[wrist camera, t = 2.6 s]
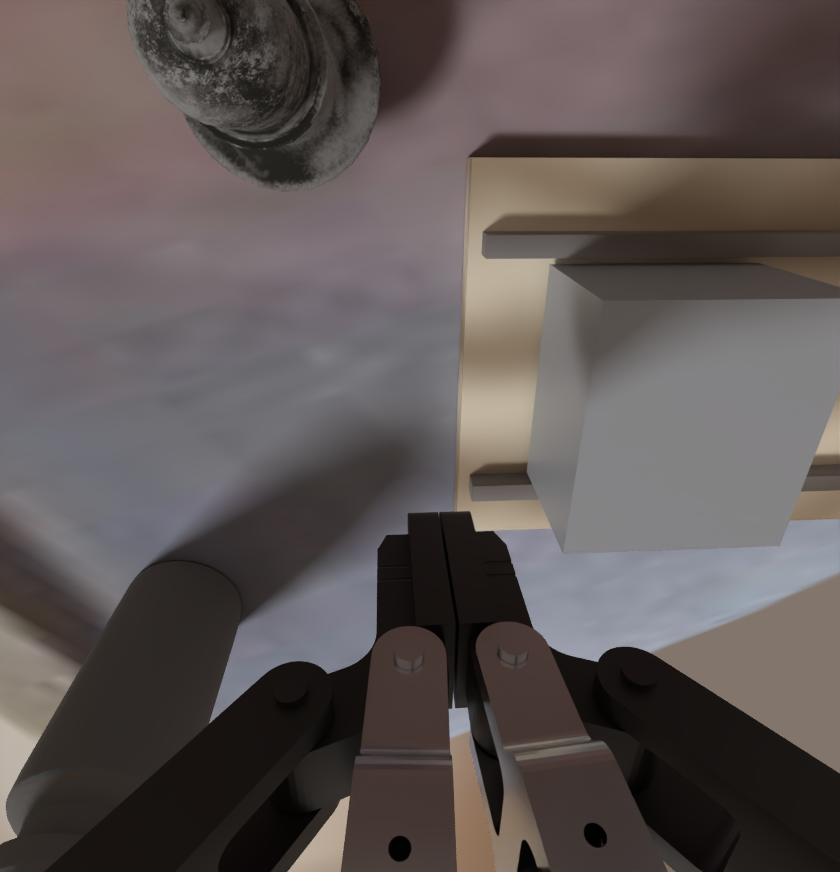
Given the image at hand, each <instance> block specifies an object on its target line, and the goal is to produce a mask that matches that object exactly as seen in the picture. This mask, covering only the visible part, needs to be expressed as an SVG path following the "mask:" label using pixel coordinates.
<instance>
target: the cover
mask: <svg viewBox="0 0 840 872" xmlns="http://www.w3.org/2000/svg"><path fill="white" fill-rule="evenodd" d="M839 392H840V287H838V286H834V285H831V284H828V283H824V282H821V281H818V280H814V279H811V278H808V277H804V276H801V275H798V274H794V273H791V272H788V271H784V270H781V269H778V268H774V267H771V266H768V265H764V264H761V263H623V264H550V266H549V275H548V284H547V293H546V302H545V311H544V320H543V329H542V338H541V347H540V356H539V365H538V374H537V383H536V392H535V401H534V410H533V419H532V428H531V438H530V447H529V456H528V465H527V474H528V476H529V478H530V480H531V483H532V485H533V487H534V489H535V492H536V494H537V496H538V498H539V501H540V503H541V505H542V507H543V510H544V512H545V514H546V516H547V519H548V521H549V523H550V525H551V528H552V530H553V532H554V534H555V537H556V539H557V541H558V543H559V546H560V548H561V550H562V552H563V554H571V553H599V552H627V551H655V550H683V549H711V548H739V547H766V546H780V543H781V541H782V538H783V535H784V533H785V530H786V528H787V525H788V523H789V520H790V517H791V515H792V512H793V510H794V507H795V505H796V502H797V499H798V497H799V494H800V492H801V489H802V487H803V484H804V482H805V479H806V476H807V474H808V471H809V469H810V466H811V464H812V461H813V458H814V456H815V453H816V451H817V448H818V446H819V443H820V440H821V438H822V435H823V433H824V430H825V428H826V425H827V423H828V420H829V417H830V415H831V412H832V410H833V407H834V405H835V402H836V399H837V397H838V394H839Z"/></svg>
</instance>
